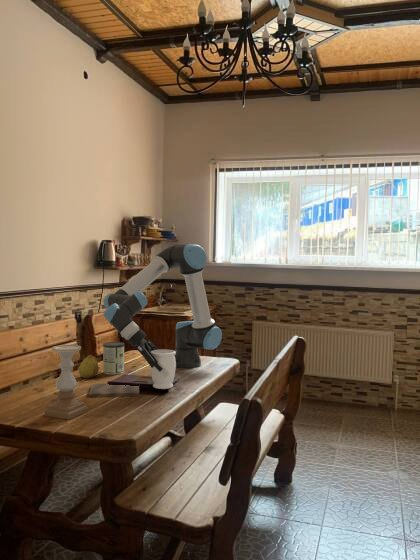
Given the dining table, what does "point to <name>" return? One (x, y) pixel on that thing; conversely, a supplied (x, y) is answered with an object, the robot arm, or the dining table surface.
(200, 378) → the dining table surface
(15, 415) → the dining table surface
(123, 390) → the walnut board
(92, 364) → the fruit
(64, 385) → the candle holder
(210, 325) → the robot arm
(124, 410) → the dining table surface
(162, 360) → the jar
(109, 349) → the coffee can
